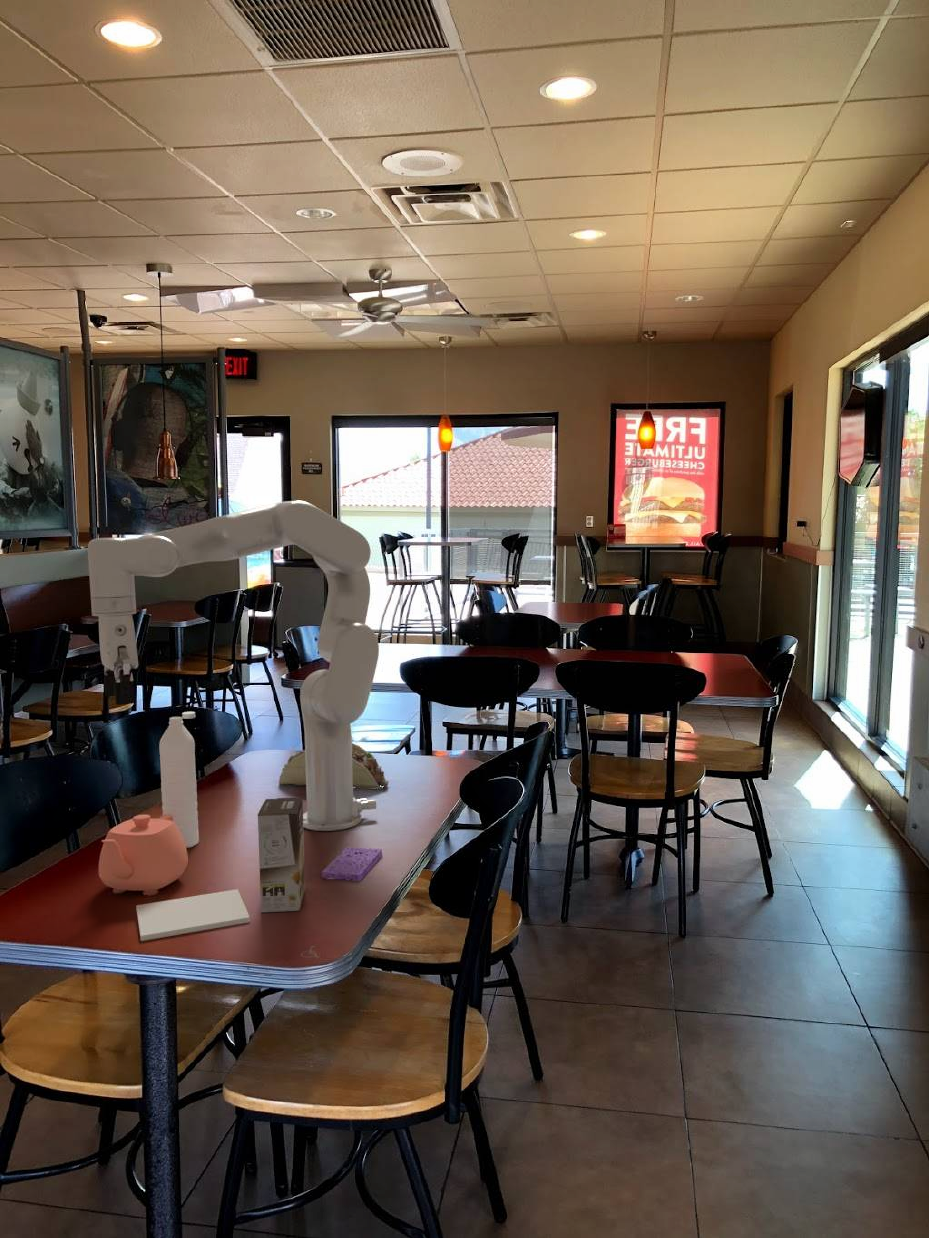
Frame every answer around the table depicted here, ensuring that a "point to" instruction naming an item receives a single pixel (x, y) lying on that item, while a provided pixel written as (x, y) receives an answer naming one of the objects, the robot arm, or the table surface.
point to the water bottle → (180, 778)
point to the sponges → (352, 864)
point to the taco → (362, 766)
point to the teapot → (143, 855)
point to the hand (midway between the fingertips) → (119, 699)
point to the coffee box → (281, 854)
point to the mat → (191, 914)
